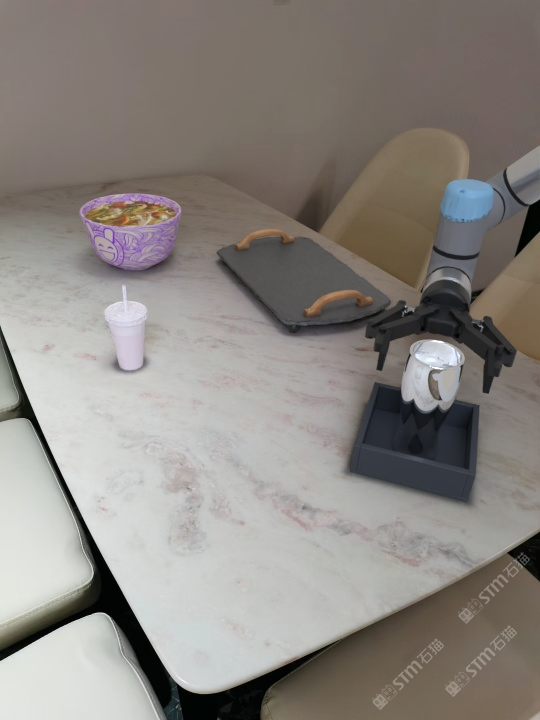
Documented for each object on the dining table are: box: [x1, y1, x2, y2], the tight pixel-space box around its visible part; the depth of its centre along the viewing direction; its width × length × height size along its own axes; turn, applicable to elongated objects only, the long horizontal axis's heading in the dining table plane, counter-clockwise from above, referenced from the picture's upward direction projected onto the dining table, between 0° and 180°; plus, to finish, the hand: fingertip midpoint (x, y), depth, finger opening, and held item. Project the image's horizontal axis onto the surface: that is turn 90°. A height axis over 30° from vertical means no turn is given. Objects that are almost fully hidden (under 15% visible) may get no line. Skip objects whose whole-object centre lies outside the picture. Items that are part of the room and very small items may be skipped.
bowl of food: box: [78, 193, 182, 272], centre depth 123 cm, size 20×20×12 cm
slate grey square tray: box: [349, 381, 481, 503], centre depth 79 cm, size 15×15×5 cm
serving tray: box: [216, 228, 392, 334], centre depth 118 cm, size 39×23×6 cm, turn 26°
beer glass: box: [392, 339, 466, 460], centre depth 76 cm, size 7×7×15 cm
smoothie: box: [103, 284, 149, 371], centre depth 90 cm, size 6×6×14 cm
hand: (433, 373), depth 76 cm, fingers open, 13 cm apart
